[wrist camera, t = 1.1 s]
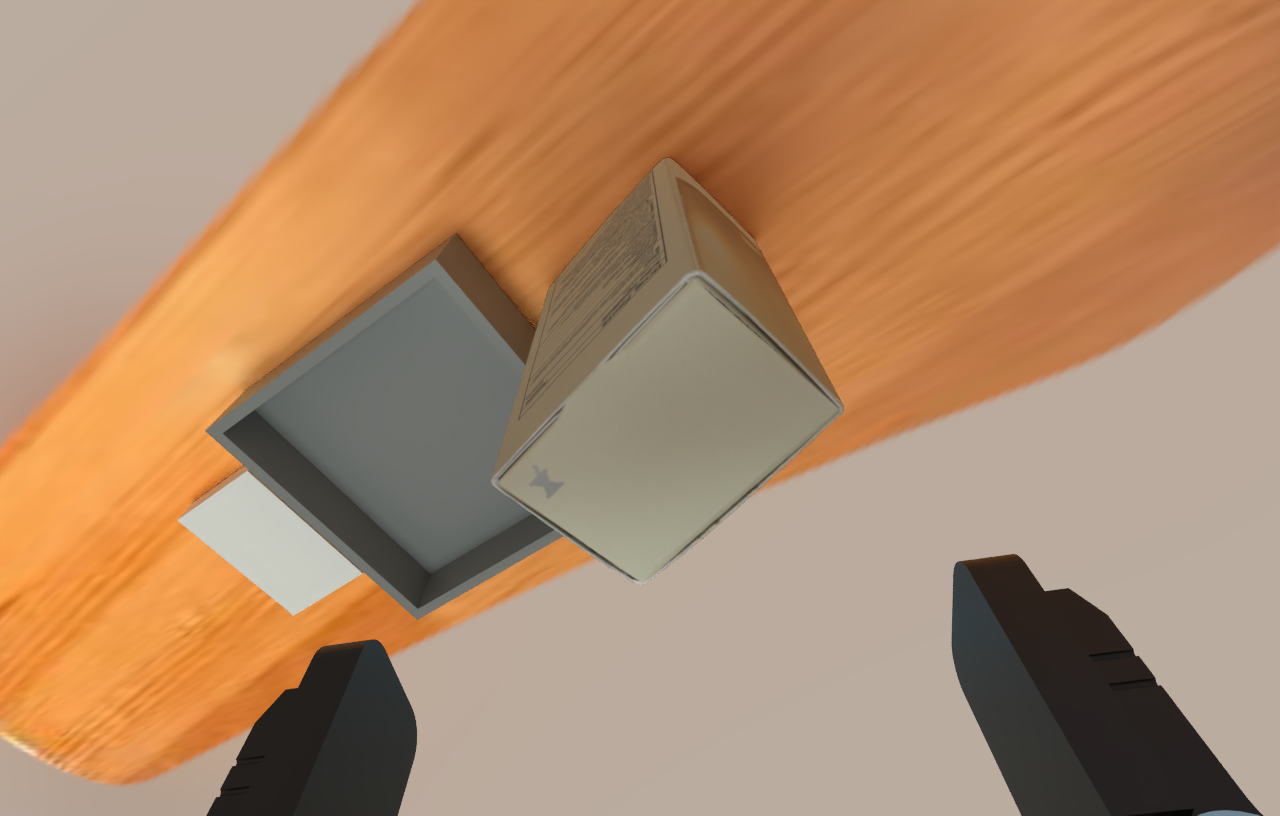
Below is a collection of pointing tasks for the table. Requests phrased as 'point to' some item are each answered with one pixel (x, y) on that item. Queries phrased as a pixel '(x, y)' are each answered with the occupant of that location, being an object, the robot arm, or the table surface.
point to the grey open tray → (381, 448)
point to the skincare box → (660, 382)
